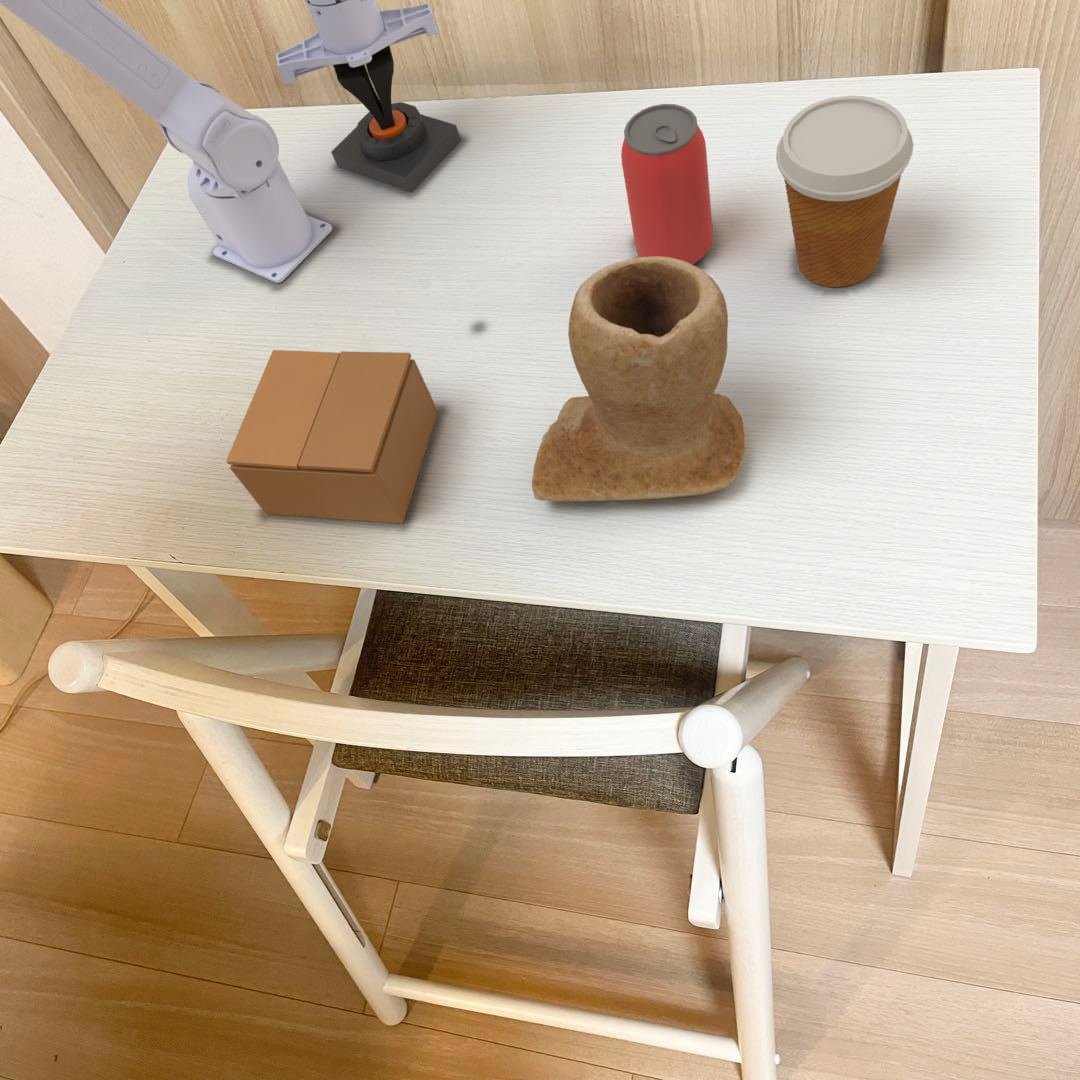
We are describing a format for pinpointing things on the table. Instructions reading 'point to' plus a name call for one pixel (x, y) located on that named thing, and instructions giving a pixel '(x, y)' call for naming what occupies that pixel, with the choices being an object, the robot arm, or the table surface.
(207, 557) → the table surface
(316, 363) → the flap
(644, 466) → the stone cup
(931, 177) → the table surface
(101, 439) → the table surface
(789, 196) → the disposable coffee cup
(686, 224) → the beer can
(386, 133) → the button
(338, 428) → the carton
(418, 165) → the button box
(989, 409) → the table surface
